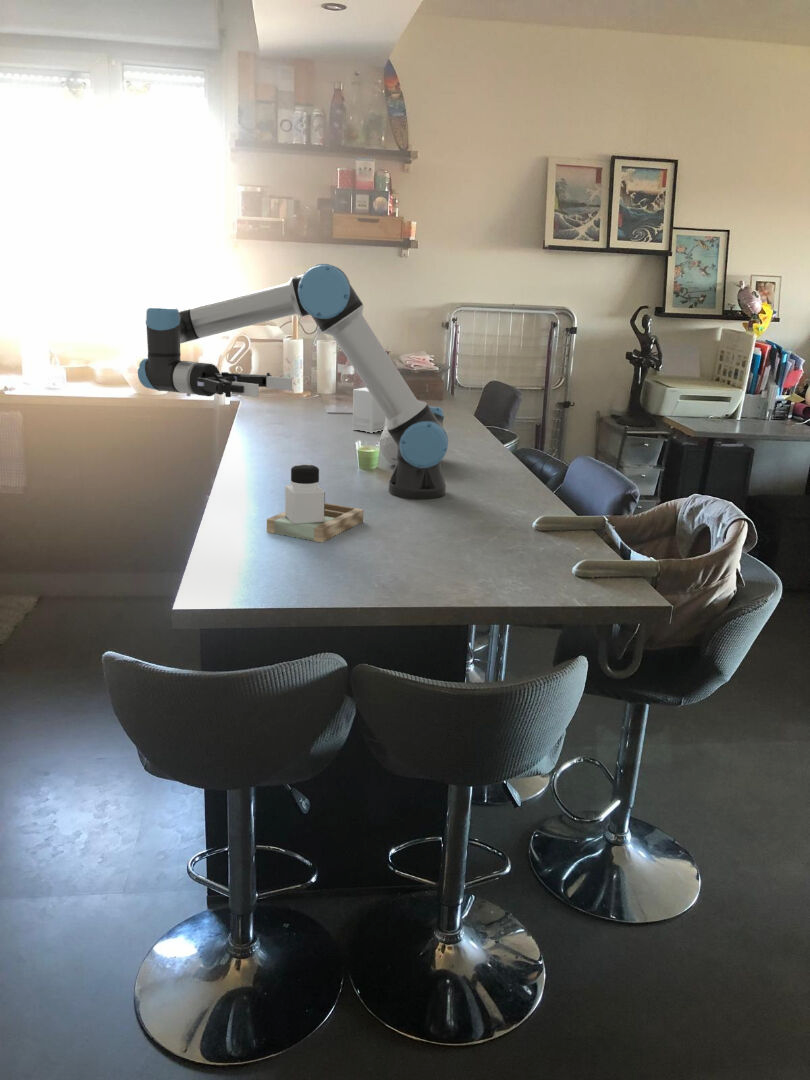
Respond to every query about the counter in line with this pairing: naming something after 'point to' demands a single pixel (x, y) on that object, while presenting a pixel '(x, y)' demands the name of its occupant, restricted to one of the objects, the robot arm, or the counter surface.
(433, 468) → the robot arm
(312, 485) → the medicine bottle
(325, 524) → the board
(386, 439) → the cauliflower
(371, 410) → the supplement box
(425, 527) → the counter surface
